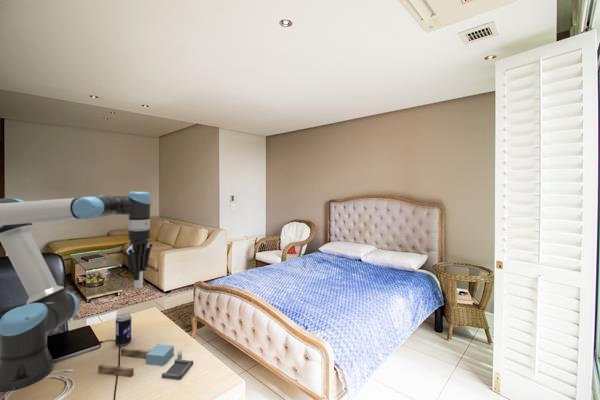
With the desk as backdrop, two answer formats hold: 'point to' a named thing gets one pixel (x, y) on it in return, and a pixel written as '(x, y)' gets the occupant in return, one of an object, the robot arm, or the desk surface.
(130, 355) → the parallel brown rails
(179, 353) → the goal posts
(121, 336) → the beverage can
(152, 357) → the block
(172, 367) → the tray
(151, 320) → the desk surface
